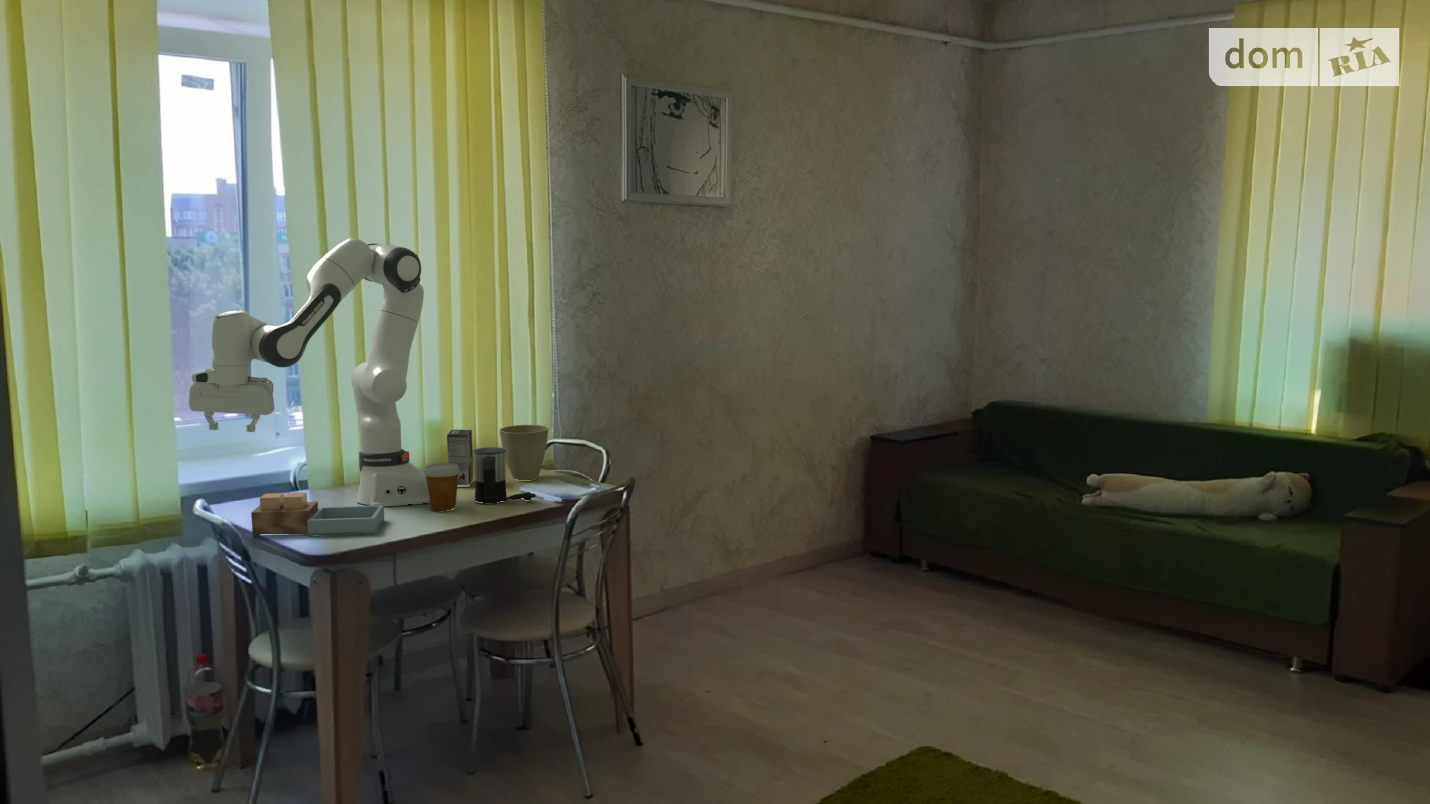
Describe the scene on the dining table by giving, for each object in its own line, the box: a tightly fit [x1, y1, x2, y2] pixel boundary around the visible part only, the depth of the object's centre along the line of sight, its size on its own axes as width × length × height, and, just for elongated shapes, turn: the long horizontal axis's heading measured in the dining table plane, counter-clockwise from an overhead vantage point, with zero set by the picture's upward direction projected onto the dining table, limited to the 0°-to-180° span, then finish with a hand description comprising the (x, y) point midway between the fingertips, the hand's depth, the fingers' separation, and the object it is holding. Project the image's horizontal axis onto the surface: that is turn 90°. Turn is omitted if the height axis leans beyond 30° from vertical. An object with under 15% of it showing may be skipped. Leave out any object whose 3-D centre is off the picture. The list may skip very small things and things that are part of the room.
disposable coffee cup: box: [423, 462, 460, 512], centre depth 288 cm, size 10×10×12 cm
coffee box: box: [446, 429, 475, 485], centre depth 319 cm, size 9×6×16 cm
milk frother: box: [472, 446, 537, 503], centre depth 297 cm, size 14×16×15 cm
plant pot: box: [499, 424, 549, 481], centre depth 327 cm, size 15×15×16 cm
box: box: [307, 505, 385, 536], centre depth 269 cm, size 16×14×4 cm
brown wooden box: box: [250, 500, 319, 537], centre depth 267 cm, size 14×10×6 cm
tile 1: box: [259, 492, 285, 510], centre depth 265 cm, size 4×5×3 cm
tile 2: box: [283, 492, 308, 509], centre depth 266 cm, size 4×5×3 cm
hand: (232, 430), depth 266 cm, fingers open, 8 cm apart
